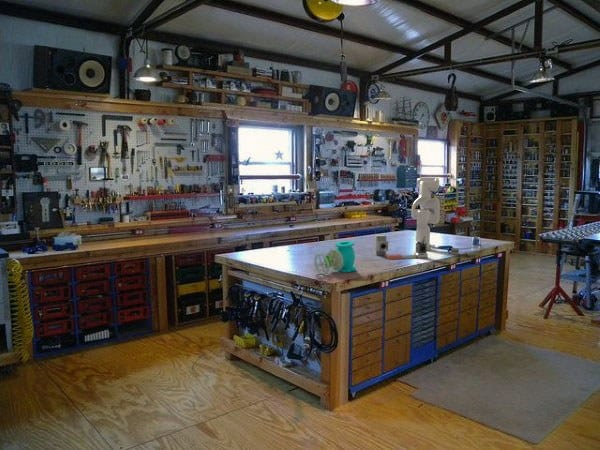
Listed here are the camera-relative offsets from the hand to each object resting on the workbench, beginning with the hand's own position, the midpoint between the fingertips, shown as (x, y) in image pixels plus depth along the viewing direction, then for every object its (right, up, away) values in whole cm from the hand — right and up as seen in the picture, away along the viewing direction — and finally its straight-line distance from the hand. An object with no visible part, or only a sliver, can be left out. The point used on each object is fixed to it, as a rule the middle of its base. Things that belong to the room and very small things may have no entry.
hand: (421, 250), depth 378 cm
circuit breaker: (-29, -4, +11) cm, 31 cm away
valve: (-68, -12, -53) cm, 87 cm away
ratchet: (-11, -6, -2) cm, 13 cm away
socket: (0, -2, 0) cm, 2 cm away
